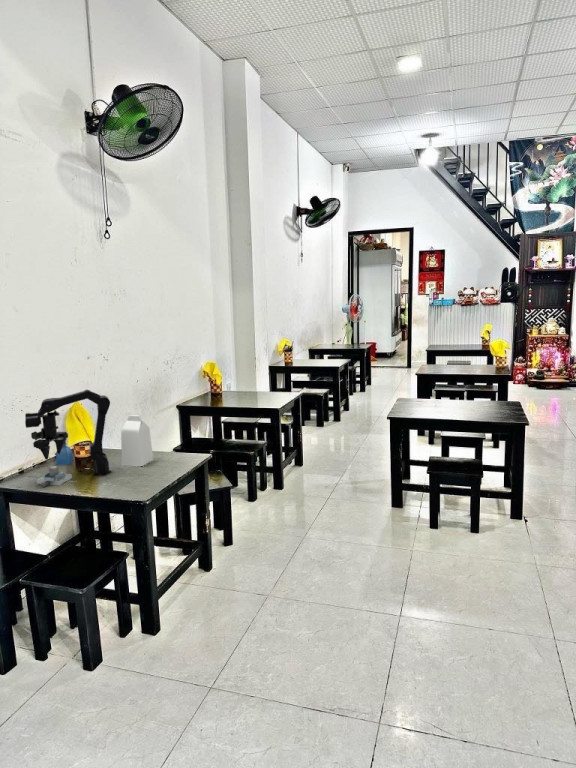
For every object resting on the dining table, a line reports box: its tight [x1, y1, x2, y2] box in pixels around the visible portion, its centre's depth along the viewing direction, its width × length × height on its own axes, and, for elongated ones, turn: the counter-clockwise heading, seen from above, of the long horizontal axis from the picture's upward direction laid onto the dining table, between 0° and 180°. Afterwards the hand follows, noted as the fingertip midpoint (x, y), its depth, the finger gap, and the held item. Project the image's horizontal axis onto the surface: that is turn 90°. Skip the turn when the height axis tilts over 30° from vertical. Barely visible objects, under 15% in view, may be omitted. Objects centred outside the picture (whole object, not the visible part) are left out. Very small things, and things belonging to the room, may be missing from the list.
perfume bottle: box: [55, 440, 73, 466], centre depth 285 cm, size 6×6×12 cm
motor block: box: [36, 471, 73, 489], centre depth 256 cm, size 12×14×4 cm
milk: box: [120, 414, 154, 467], centre depth 281 cm, size 12×12×26 cm
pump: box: [48, 465, 60, 478], centre depth 258 cm, size 4×4×5 cm
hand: (52, 456), depth 258 cm, fingers open, 9 cm apart
